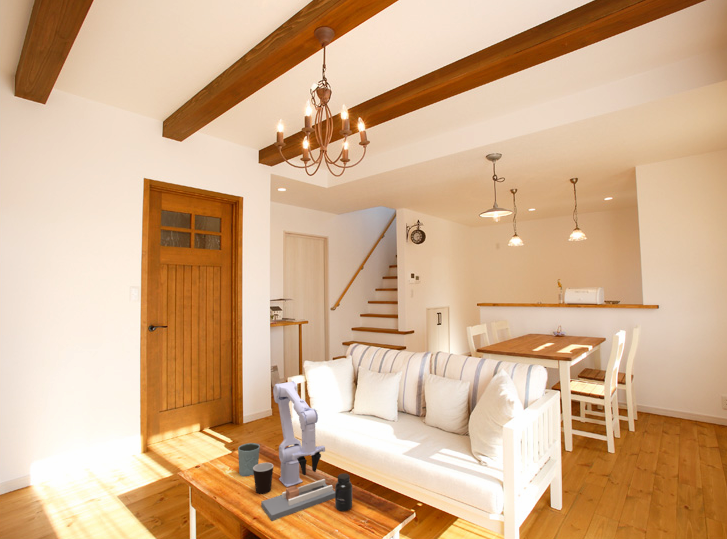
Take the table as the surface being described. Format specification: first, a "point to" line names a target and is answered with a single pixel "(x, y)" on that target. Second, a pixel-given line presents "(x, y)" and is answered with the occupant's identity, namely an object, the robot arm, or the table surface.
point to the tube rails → (310, 494)
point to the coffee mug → (263, 477)
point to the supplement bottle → (343, 493)
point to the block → (292, 492)
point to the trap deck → (280, 506)
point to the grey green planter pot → (248, 458)
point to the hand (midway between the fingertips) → (309, 472)
